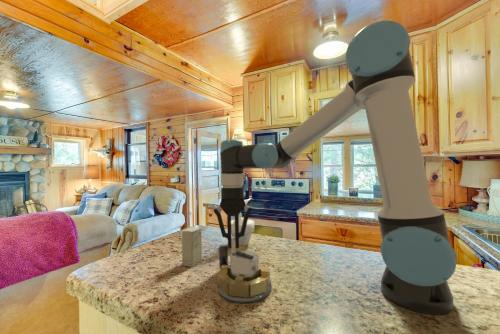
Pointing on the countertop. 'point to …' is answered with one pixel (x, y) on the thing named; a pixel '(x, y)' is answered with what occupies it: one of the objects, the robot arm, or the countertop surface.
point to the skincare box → (191, 246)
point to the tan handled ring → (240, 278)
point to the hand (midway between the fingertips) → (233, 257)
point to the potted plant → (249, 226)
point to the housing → (249, 268)
